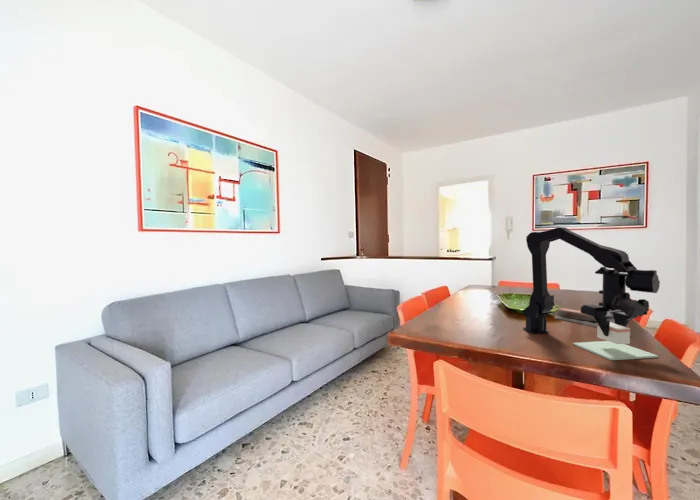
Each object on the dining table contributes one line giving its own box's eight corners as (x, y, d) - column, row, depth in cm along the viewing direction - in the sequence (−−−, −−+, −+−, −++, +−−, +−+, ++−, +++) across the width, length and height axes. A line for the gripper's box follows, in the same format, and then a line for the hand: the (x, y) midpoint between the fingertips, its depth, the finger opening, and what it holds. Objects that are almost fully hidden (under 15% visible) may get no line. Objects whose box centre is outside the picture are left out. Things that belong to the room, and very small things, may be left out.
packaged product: (553, 309, 141) (565, 306, 146) (553, 319, 142) (564, 316, 147) (601, 317, 126) (611, 314, 131) (601, 329, 126) (611, 325, 131)
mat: (611, 360, 94) (611, 358, 94) (573, 344, 108) (573, 342, 108) (657, 357, 95) (657, 355, 95) (614, 342, 109) (614, 340, 109)
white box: (596, 337, 105) (597, 322, 104) (609, 336, 105) (609, 321, 105) (617, 344, 98) (617, 328, 97) (630, 343, 98) (630, 328, 98)
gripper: (611, 294, 92) (610, 345, 92) (666, 291, 94) (665, 342, 94) (579, 287, 103) (579, 334, 103) (629, 286, 105) (628, 331, 105)
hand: (612, 335), depth 101 cm, fingers closed on white box, 4 cm apart
